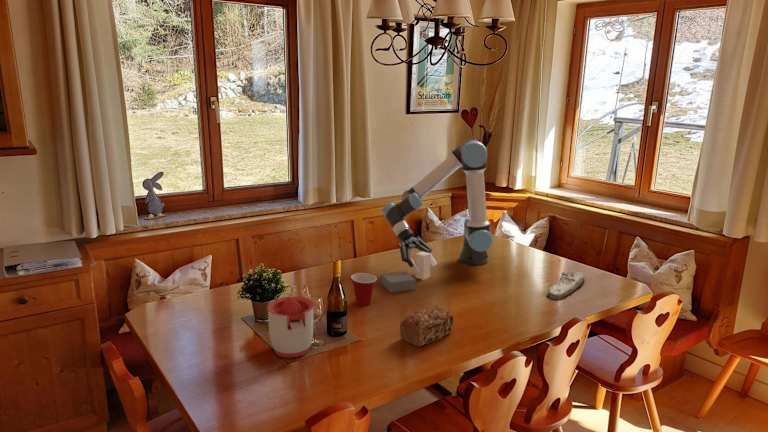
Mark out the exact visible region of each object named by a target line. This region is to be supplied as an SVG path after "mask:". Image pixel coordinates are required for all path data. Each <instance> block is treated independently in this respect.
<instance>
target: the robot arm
mask: <svg viewBox="0 0 768 432" xmlns="http://www.w3.org/2000/svg"><path fill="white" fill-rule="evenodd" d="M487 159H488V150H487V147H486V146H485V145H484V144H483V143H482V142H481V141H478V140H477V139H475V138H468V139H465V140H464V141H462V142H461V143H460V144H459V145H457V146H456V147H455V148H454V149H453V150H452V151H451V152H450V156H448V157H446V159H444V160H443V161H442V162H440V163H439V164H438V165H437V166H436V167H435V168H433V169H432V170H431V171H430V172H429V173H427V174H426V175H425V176H423V178H421V179H420V180H419V181H418V182H417V183H415V184H414V185H413V186H412V187H409V189H407V190H405V191H404V192H403V193H402V195H401V201H399V202H398V203H396V204H395V203H394V202H390V203H388V204H386V205H384V207H383V208H382V209H381V211H382V214H383V215H384V217H385V219H386V221H387V222H388V224H389V225H390V227H391V229H392V231H393V232H394V233H395V235H396V237H397V239H398V240H399V242H398V247H399V252H400V256H401V261H402V262H404V263H405V264H406V263H407V265H408V266H409V268H410V269H412V271H413V273H414V274H415V273H417V272H418V271H419V269H418V268H417V266H416V262H415V261H414V260H413V258H411V250H412V249H416V250H418V251H420V252H422V251H423V252H427V253H430V254H431V263H430V265H431V266H432V267H435V266H436V265H438V263H437V261H436V260H435V258H434V256H433V254H432V251H433V248H432V247H431V246H429V245H428V244H427V243H426V242H425V240H423V239H422V238H421V237H420V236H419V235H417V237H414V235H415V234H414V231H413V230H412V229H411V228H410V226H409V224H408V222H407V220H405V218H406V217H407V216H409V215H410V214H411V213H413V212H414V211H417V210H418V209H419V208H420V207H422V206H423V204H424V202H423V200H422V199H423V198H424V197H425V196H427V194H429V193H430V192H431V191H432V190H434V189H435V188H436V187H437V186H438V185H439V184H441V183H443V182H444V181H445V180H446V179H447V178H448V177H450V176H451V175H453V173H454V172H456V171H457V170H458V169H459V168H461V169H462V171H463V173H465V179H466V180H465V181H466V193H467V206H468V208H467V209H468V210H467V211H468V217H466V218H465V219H464V223H463V225H464V226H463V227H464V228H463V240H462V241H463V243H462V248H461V250H460V252H459V257H458V260H459V261H460V263H463V264H466V265H470V266H471V265H474V266H480V265H481V266H482V265H485V264H488V263H489V255H488V250H490V248H491V247H492V245H493V243H494V242H493V241H494V237H493V235H492V228H491V221H490V220H488V217H487V204H486V203H487V199H486V188H485V187H486V183H485V173H484V172H485V171H486V169H487V167H488V166H487Z"/></svg>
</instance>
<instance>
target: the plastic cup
mask: <svg viewBox="0 0 768 432" xmlns="http://www.w3.org/2000/svg"><path fill="white" fill-rule="evenodd" d="M350 278H351V280H352V286H353V291H354V297H355V302H356V305H358V306H359V307H360V306H361V307H367V306H370V304H371V302H372V296H373V292H374V287H375V283H376V282H377V280H378V278H377V276H376V275H374V274H371V273H366V272H357V273H354V274H352V275H351V276H350Z"/></svg>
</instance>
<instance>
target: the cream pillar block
mask: <svg viewBox="0 0 768 432" xmlns="http://www.w3.org/2000/svg"><path fill="white" fill-rule="evenodd" d="M431 254H432V253H431ZM431 254H430V253H427V252H423V251H420V252H417V253H416V254H415V265H416V266H417V268H418V269H419V271H418V272H417V273H414V275H415V279H420V280H423V281H424V280H428V279H429V278H431Z"/></svg>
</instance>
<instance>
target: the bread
mask: <svg viewBox="0 0 768 432" xmlns="http://www.w3.org/2000/svg"><path fill="white" fill-rule="evenodd" d="M453 323H454V316H453V314H452V313H451V312H450V311H448V310H446V309H445V308H442V307H440V306H438V305H437V306H432V307H424V308H422V309H419V310H416V311H415V312H412V313H410V314H407V316H405V317H404V318H403V319H401V321H400V325H399V330H400V337H401V339H402V340H403V341H405V342H406V343H409V344H411V345H413V346H415V347H416V348H419V347H423V346H424V345H427V344H430V343H432V342H434V341H437V340H439V339H442V338H443V337H445V336H447V335H448V334H450V333H452V329H453V327H454V326H453V325H454V324H453Z"/></svg>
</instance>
